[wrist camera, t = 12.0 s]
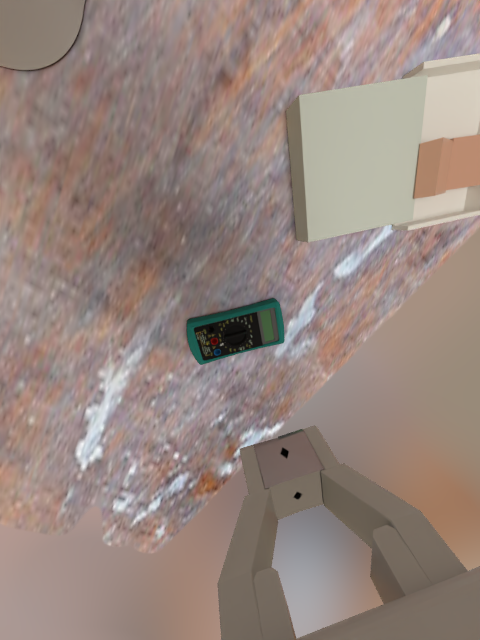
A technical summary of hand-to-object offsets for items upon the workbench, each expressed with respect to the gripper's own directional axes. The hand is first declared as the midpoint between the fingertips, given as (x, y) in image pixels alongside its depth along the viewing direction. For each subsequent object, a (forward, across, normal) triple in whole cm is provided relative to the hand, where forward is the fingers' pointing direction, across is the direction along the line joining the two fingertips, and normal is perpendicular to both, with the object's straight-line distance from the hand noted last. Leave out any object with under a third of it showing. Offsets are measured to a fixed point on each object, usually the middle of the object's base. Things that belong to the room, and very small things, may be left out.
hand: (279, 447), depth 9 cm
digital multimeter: (+29, -1, +9) cm, 30 cm away
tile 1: (+26, -37, -8) cm, 46 cm away
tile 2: (+26, -30, -8) cm, 40 cm away
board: (+28, -21, -10) cm, 36 cm away
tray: (+28, -35, -10) cm, 46 cm away
